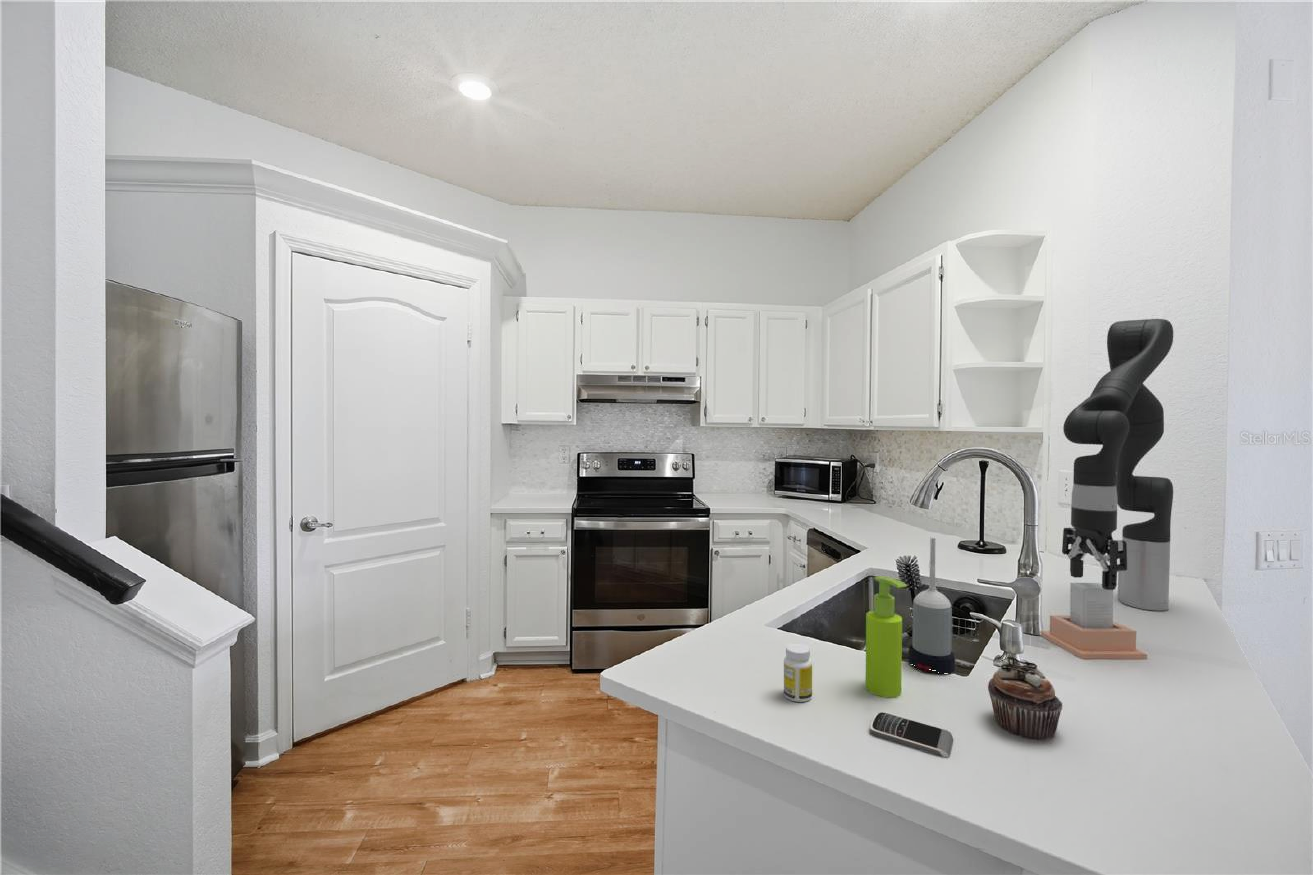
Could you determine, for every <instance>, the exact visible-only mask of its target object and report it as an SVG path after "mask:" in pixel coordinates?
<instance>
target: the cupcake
mask: <svg viewBox="0 0 1313 875" xmlns="http://www.w3.org/2000/svg"><path fill="white" fill-rule="evenodd" d="M1020 664H1023V665H1020ZM987 691H988V695H989V697H990V701H991V705H992V709H993V716H994V719H995V722H996V724H997V725H998V726H999V727H1000V728H1001V729H1003V730H1004V731H1006V732H1008V733H1010V734H1012V735H1015V736H1019V737H1021V738H1025V739H1029V740H1033V741H1034V740H1037V741H1044V740H1046V741H1047V740H1049V739H1052V738H1054V737H1055V735H1056V731H1057V728H1058V724H1059V721H1060V720H1059V719H1060V716H1061V712H1062V709H1063V702H1062V700H1060V699H1059V697H1057V696H1056V691H1055V688H1054V686H1053V684H1052V683H1051V681H1049V680H1048V679H1047V678H1046V677H1045V675H1044V672H1042V671H1041V670H1040V669H1039V668H1038V665H1037V664H1035V663H1034V662H1028V661H1021V660H1018V659H1017V658H1015V657H1014V656H1008V657H1006V659H1004V660H1002V663H1001V665H1000V666H999V667H998V669H997V670H996V671H995V672H994V674H993V675H992V678H991V679H990V680H989V681H988V683H987Z"/></svg>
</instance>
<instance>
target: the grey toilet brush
mask: <svg viewBox="0 0 1313 875" xmlns="http://www.w3.org/2000/svg"><path fill="white" fill-rule="evenodd" d="M929 542H930V543H929V544H930V545H929V564H928V567H929V585H928V586H929V587H928V588H927V589H925V590H923V591H920V592H919V593H918V594H917V595H915V597H914V598H913V603H912V642H911V643H912V644H910V645H909V647H908V651H907V654H908V656H907V657H908V660H907V661H908V665H910V664H913V665H910V667H912V668H914V669H915V670H916V671H920V672H923V673H926V674H931V675H937V676H947V675H951V674H953V673H955V671H956V656H955V652H953V650H952V626H953V624H952V621H953V619H952V618H953V616H952V615H953V613H952V612H953V608H952V603H951V602H950V600H949V599H948V598H947V597H946V595H945V594H943V593H942V592H939V591H938V589H937V586H936V537H930V540H929ZM914 665H915V666H914ZM929 669H931V670H929ZM932 670H936V671H932ZM938 672H939V673H938ZM944 673H948V674H944Z"/></svg>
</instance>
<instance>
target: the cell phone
mask: <svg viewBox="0 0 1313 875" xmlns="http://www.w3.org/2000/svg"><path fill="white" fill-rule="evenodd" d="M869 727H870V734H872V736H875V737H877V738H879V739H884V740H887V741H891V742H894V743H896V744H900V745H903V746H907V747H910V748H912V749H913V748H914V749H917V750H920V751H923V752H926V753H930V754H933V755H936V756H940V757H944V758H950V757H951V753H952V749H953V745H954V737H953V734H952V732H950V731H949V730H947V729H943V728H940V727H936V726H934V725H929V724H926V723H923V722H918V721H915V720H911V719H909V718H904V717H902V716H898V715H894V714H890V713H887V712H882V711H881V712H877V713H876V714H874V716H873V718H872V719H871V721H870V724H869Z"/></svg>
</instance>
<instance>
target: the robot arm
mask: <svg viewBox="0 0 1313 875" xmlns="http://www.w3.org/2000/svg"><path fill="white" fill-rule="evenodd" d="M1173 343H1174V328H1173V325H1172V323H1171V322H1170V320H1167V319H1163V318H1147V319H1133V320H1131V319H1130V320H1121V321H1120V320H1119V321H1115V322H1113V323H1112V324H1111V325H1110V327H1109V329H1108V332H1107V336H1106V348H1107V357H1108V362H1109V368H1110V370H1109V371H1108V372H1106V374H1104V375H1103V376H1102V377H1101V378H1099V380H1098V381H1097V383H1096V385H1095V387H1094V388H1093V390H1092V392H1091V394H1090V395H1089V397H1087V398H1086V399H1085V400H1083V401H1082V402H1081V403H1079V404H1078V405H1077V406H1075V407H1074V409H1072V410H1071V412H1069V414H1068V415H1067V417H1066V418H1065V421H1064V423H1063V427H1062V428H1063V434H1064V436H1065V438H1066V439H1067V440H1068V441H1069V442H1071V443H1074V444H1076V445H1077V444H1078V445H1096V446H1097V445H1099V446H1100V445H1101V446H1102V447H1101V449H1100V451H1098V452H1097V453H1095V454H1090V455H1083V456H1082V455H1081V456H1078V457H1076V458H1075V459H1074V461H1073V484H1072V491H1071V502H1070V503H1071V507H1070V508H1071V509H1070V510H1071V511H1070V525H1071V526H1072V527H1064V528H1063V532H1062V547H1061V548H1062V549H1061V552H1062V554H1063V555H1067V558H1068V559H1069V562H1070V563H1069V572H1070V577H1072V578H1077V579H1078V578H1083V577H1084V560H1083V559H1084V558H1085V556H1086V555H1087V554H1088V555H1090V556H1093V557H1094V559H1095V561H1097V562H1099V564H1100V566H1101V568H1102V573H1101V574H1102V575H1101V584H1102V588H1103V589H1106V590H1113V591H1114V590H1115V589H1116V588H1117V600H1119V601H1120V602H1121V603H1122V604H1124V605H1126V606H1129V607H1134V608H1137V609H1141V610H1142V609H1143V610H1148V611H1159V612H1160V611H1161V612H1162V611H1163V612H1164V611H1168V610H1169V601H1170V569H1171V568H1170V564H1171V560H1170V559H1171V525H1172V524H1171V520H1172V510H1173V502H1174V500H1173V499H1174V486H1173V483H1172V481H1171V479H1170V478H1167V477H1163V476H1162V477H1160V476H1147V475H1146V476H1142V475H1141V476H1140V475H1134V474H1133V473H1134V471H1135V469H1136V467H1137V466H1138V464H1139V462H1140V461H1142V459H1143V457H1144V456H1146V454H1148V453H1149V452H1150V451H1151V450H1152V449H1153V448H1154V447H1155V446H1156V445H1157V444H1158V443H1159V442H1160V440H1161V439H1162V437H1163V435H1164V432H1165V416H1164V414H1165V413H1164V407H1163V405H1162V403H1161V402H1160V400H1159V399H1158V398H1157V397H1156V395H1155V394H1154V393H1153V392H1151V390H1150V389H1149V388H1148V387H1147V386H1146V385H1145V384H1144V382H1145V381H1146V380H1147V379H1148V378H1149V377H1150V376H1151V375H1152V374H1153V373H1154V371H1155V370H1156V369H1157V368H1158V366H1160V364H1161V363H1163V361H1164V359H1165V358H1166V357H1167V356H1168V354H1169V352H1170V351H1171V348H1172V346H1173ZM1118 507H1119V508H1120V509H1121V510H1123V511H1127V512H1137V513H1146V514H1147V513H1148V514H1149V513H1150V514H1153V515H1154V516H1153V517H1152V518H1150V519H1148V520H1145V521H1143V522H1142V521H1141V522H1136V523H1130V524H1126V525H1124V526H1123V527H1122V532H1121V535H1122V538H1121V539H1120V540H1119V539H1118V540H1116V539H1113V535H1112V534H1113V533H1114V532H1115V531H1117V528H1118ZM1069 545H1070V548H1069ZM1118 560H1119V563H1118ZM1108 563H1109V564H1108Z"/></svg>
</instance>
